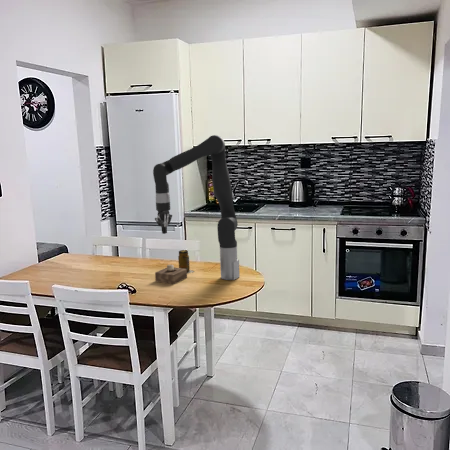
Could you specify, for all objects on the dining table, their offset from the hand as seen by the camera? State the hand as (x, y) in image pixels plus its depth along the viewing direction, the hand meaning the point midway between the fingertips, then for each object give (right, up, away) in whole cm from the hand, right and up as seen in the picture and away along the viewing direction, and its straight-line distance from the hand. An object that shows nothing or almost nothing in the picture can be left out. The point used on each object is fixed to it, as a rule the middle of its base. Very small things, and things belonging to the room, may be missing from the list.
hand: (164, 233), depth 230 cm
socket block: (+4, -25, 0) cm, 25 cm away
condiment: (+10, -22, +14) cm, 28 cm away
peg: (+4, -25, 0) cm, 25 cm away
